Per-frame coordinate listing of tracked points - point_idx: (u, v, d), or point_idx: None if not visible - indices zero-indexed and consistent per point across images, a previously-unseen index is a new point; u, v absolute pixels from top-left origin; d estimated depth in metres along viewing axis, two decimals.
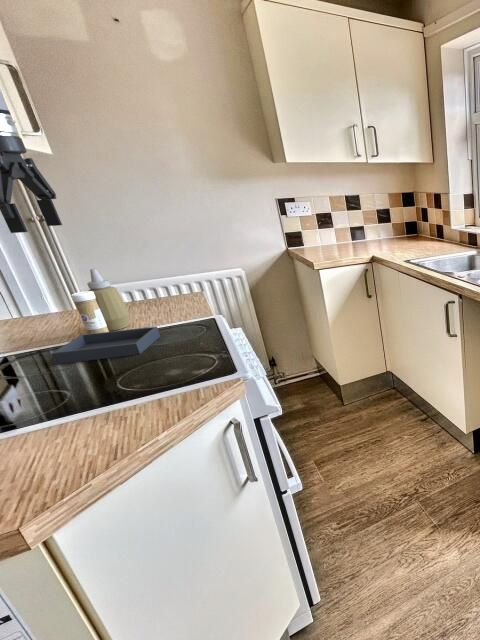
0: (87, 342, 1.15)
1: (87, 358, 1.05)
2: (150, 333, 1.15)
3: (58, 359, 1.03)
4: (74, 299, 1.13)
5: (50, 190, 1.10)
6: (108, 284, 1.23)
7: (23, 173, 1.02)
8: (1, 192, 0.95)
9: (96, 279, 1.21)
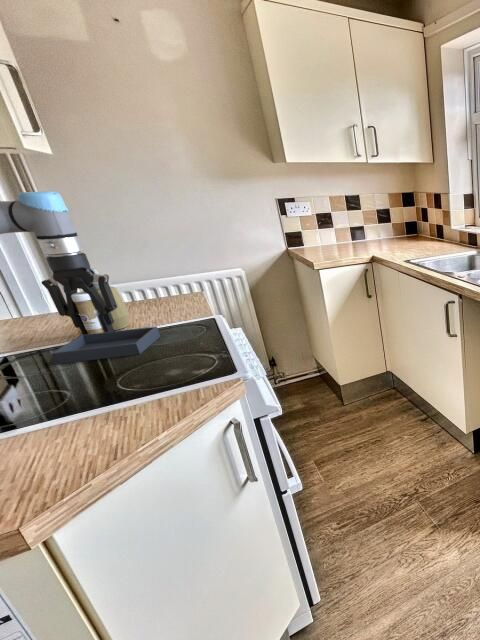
0: (87, 342, 1.15)
1: (87, 358, 1.05)
2: (150, 333, 1.15)
3: (58, 359, 1.03)
4: (74, 299, 1.13)
5: (107, 305, 1.16)
6: None
7: None
8: (60, 308, 1.13)
9: None
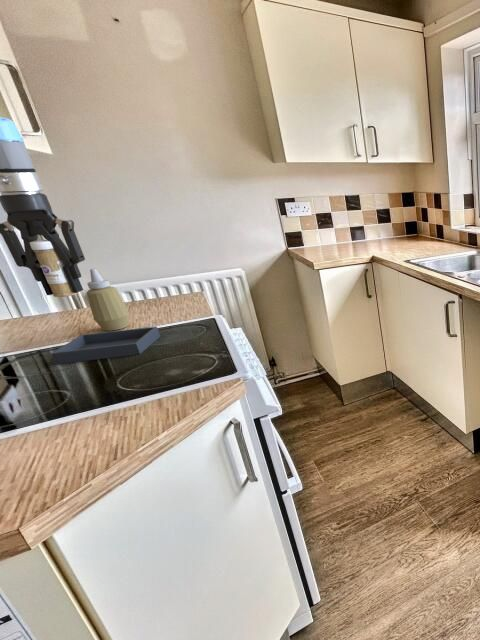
0: (87, 342, 1.15)
1: (87, 358, 1.05)
2: (150, 333, 1.15)
3: (58, 359, 1.03)
4: (33, 247, 0.98)
5: (72, 255, 1.02)
6: (108, 284, 1.23)
7: None
8: (17, 258, 0.98)
9: (96, 279, 1.21)
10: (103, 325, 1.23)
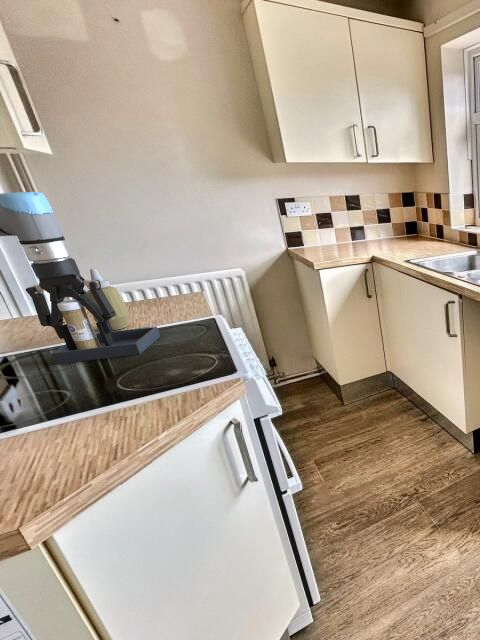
0: None
1: (87, 358, 1.05)
2: (150, 333, 1.15)
3: (58, 359, 1.03)
4: (60, 308, 1.04)
5: (104, 313, 1.08)
6: (108, 284, 1.23)
7: None
8: (42, 318, 1.04)
9: (96, 279, 1.21)
10: None
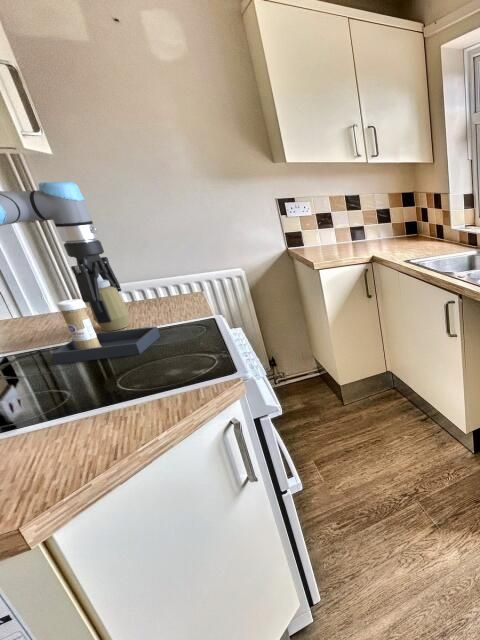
0: None
1: (87, 358, 1.05)
2: (150, 333, 1.15)
3: (58, 359, 1.03)
4: (60, 308, 1.04)
5: (116, 283, 1.29)
6: (108, 284, 1.23)
7: (100, 269, 1.22)
8: (93, 293, 1.17)
9: None
10: (103, 325, 1.23)
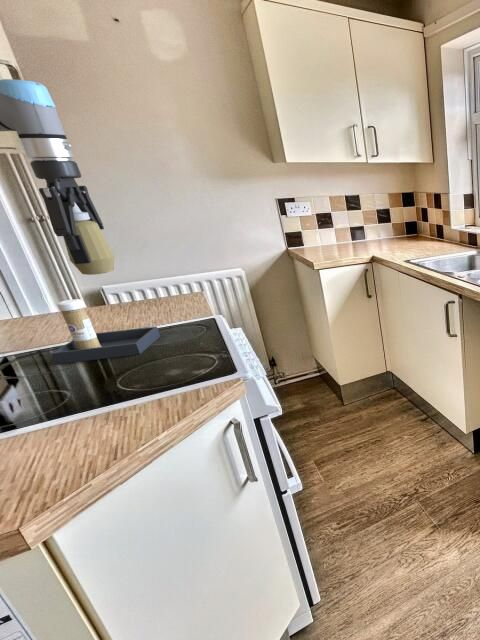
0: None
1: (87, 358, 1.05)
2: (150, 333, 1.15)
3: (58, 359, 1.03)
4: (60, 308, 1.04)
5: (98, 219, 1.07)
6: (87, 217, 1.01)
7: (77, 198, 1.00)
8: (67, 224, 0.95)
9: None
10: (81, 267, 1.01)
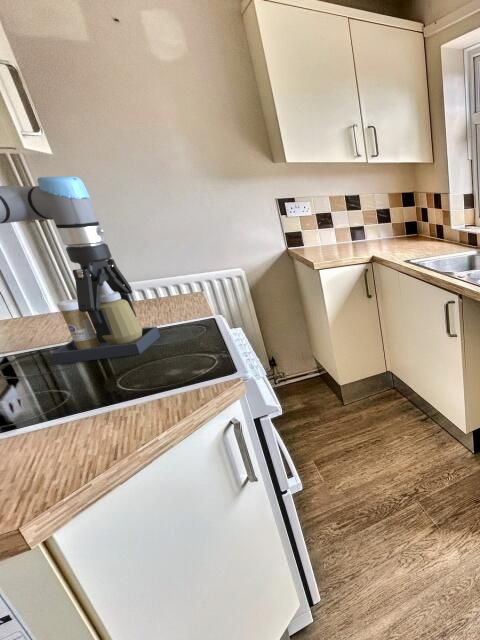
0: None
1: (87, 358, 1.05)
2: (150, 333, 1.15)
3: (58, 359, 1.03)
4: (60, 308, 1.04)
5: (127, 285, 1.15)
6: (119, 297, 1.08)
7: (107, 276, 1.07)
8: (92, 302, 1.00)
9: (105, 292, 1.06)
10: (113, 343, 1.09)
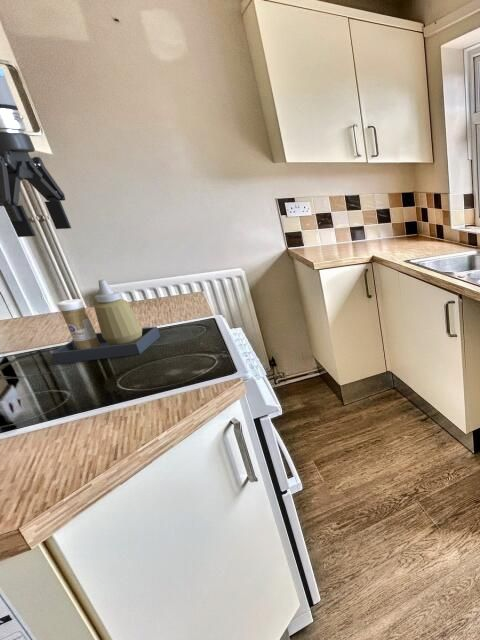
0: None
1: (87, 358, 1.05)
2: (150, 333, 1.15)
3: (58, 359, 1.03)
4: (60, 308, 1.04)
5: (59, 191, 1.04)
6: (119, 297, 1.08)
7: (31, 173, 0.96)
8: (8, 193, 0.88)
9: (105, 292, 1.06)
10: (113, 343, 1.09)
